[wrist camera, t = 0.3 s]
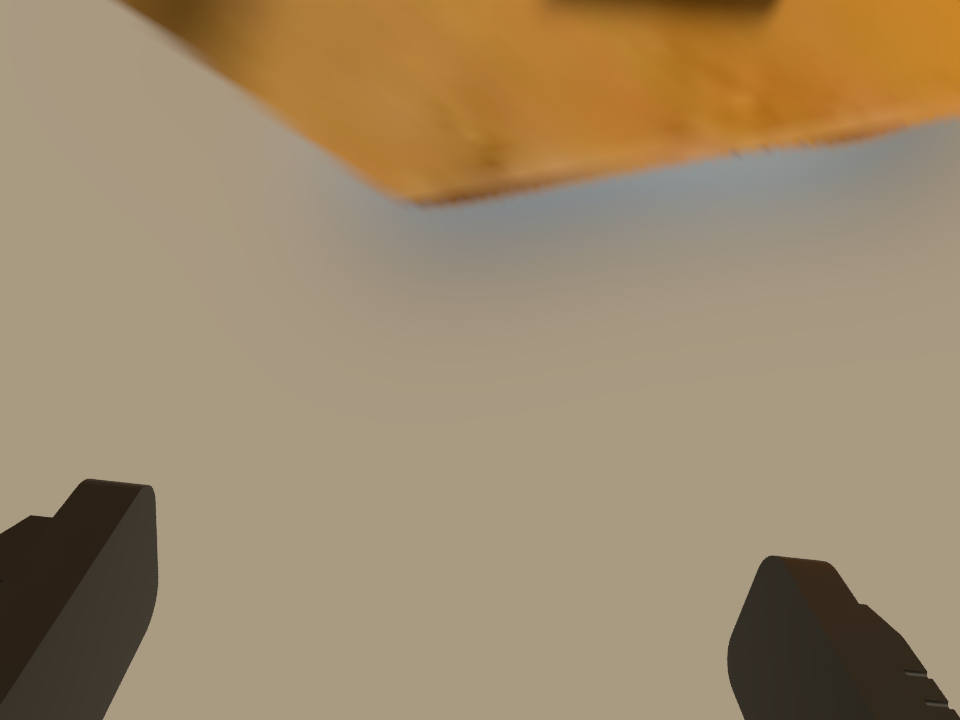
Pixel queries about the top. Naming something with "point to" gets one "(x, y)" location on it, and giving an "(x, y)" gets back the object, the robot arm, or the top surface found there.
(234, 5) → the top surface
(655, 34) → the top surface
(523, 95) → the top surface
